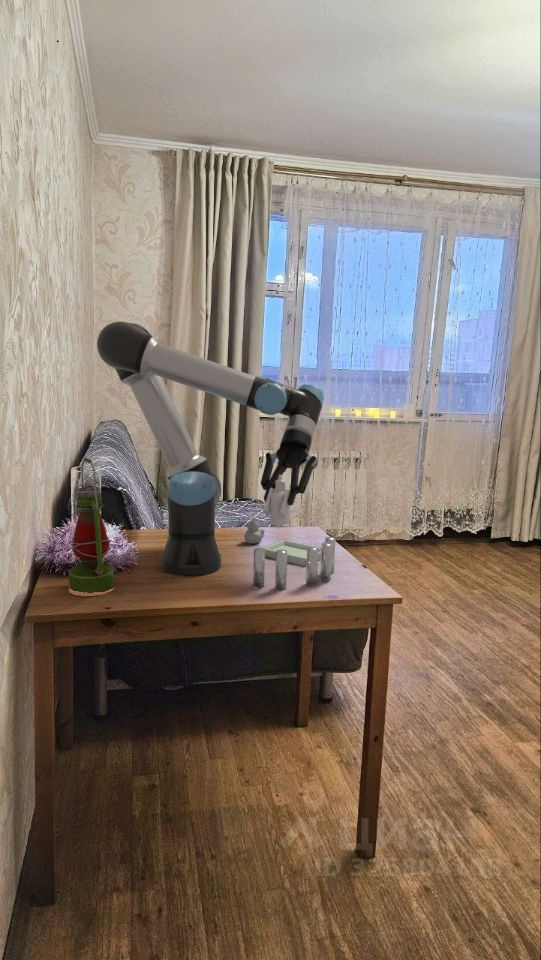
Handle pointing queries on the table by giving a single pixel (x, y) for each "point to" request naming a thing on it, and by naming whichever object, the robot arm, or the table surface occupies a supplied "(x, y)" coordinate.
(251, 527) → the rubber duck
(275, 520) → the eye dropper bottle
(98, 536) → the lantern
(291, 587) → the table surface
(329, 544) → the spacers
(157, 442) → the robot arm
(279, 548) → the tray
